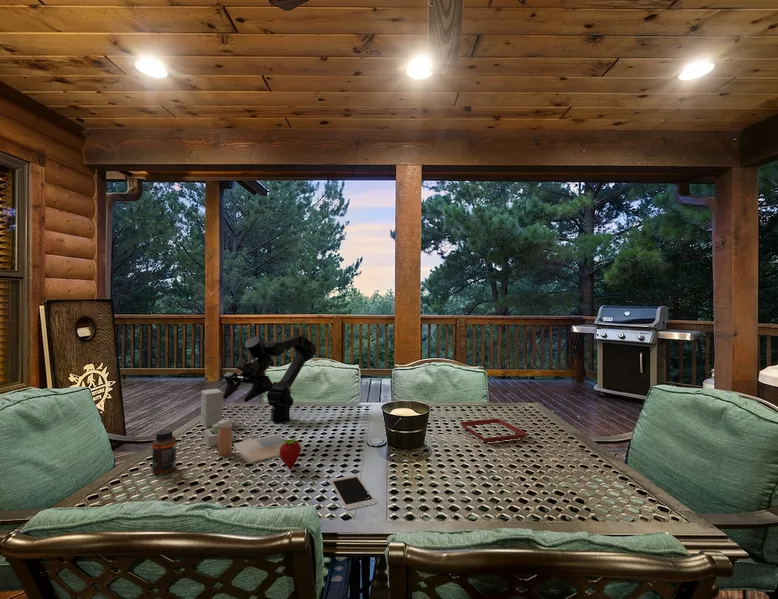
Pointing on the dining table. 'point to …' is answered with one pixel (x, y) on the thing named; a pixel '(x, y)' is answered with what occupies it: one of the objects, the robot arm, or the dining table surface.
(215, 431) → the button
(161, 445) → the supplement bottle
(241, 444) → the sheet
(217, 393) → the small box
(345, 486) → the cell phone
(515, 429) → the red square frame
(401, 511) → the dining table surface
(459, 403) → the dining table surface
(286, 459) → the decorative fruit
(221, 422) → the capped orange bottle
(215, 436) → the button housing
